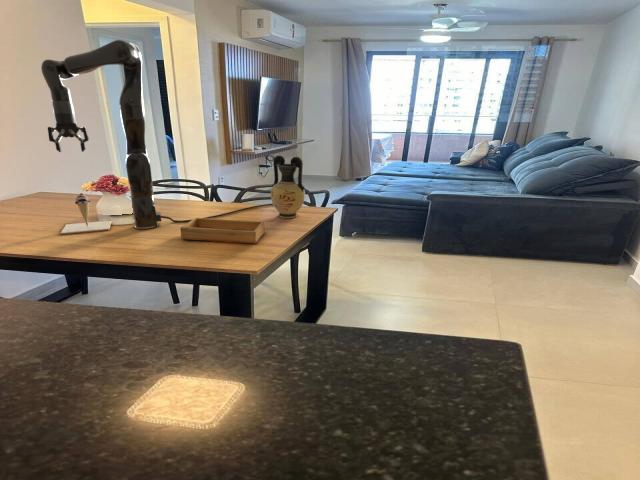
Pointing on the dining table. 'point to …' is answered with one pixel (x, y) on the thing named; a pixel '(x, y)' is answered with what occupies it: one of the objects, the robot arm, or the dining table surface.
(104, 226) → the white flat slab
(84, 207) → the ice cream cone
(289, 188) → the amphora
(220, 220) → the tray
